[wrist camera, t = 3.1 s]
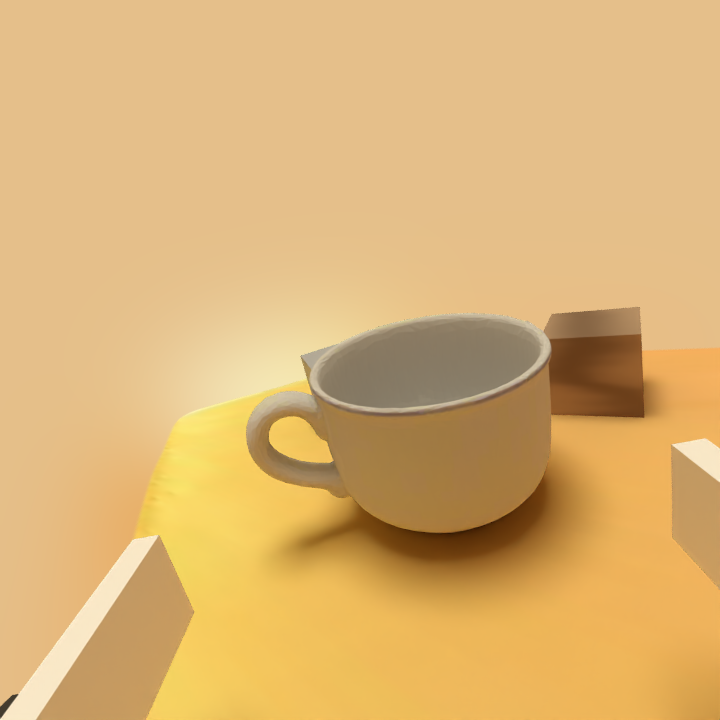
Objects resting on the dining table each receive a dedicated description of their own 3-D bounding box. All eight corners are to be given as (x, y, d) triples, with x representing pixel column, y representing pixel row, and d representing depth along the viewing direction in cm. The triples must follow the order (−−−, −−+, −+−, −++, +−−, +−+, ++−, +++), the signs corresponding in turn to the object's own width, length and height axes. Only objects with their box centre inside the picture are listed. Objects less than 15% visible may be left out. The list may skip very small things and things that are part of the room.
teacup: (513, 421, 27) (496, 296, 25) (619, 542, 17) (607, 350, 15) (296, 471, 28) (258, 353, 25) (272, 620, 17) (204, 445, 15)
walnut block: (642, 381, 28) (639, 306, 27) (644, 418, 24) (641, 334, 23) (558, 381, 31) (551, 314, 30) (548, 415, 27) (539, 339, 26)
